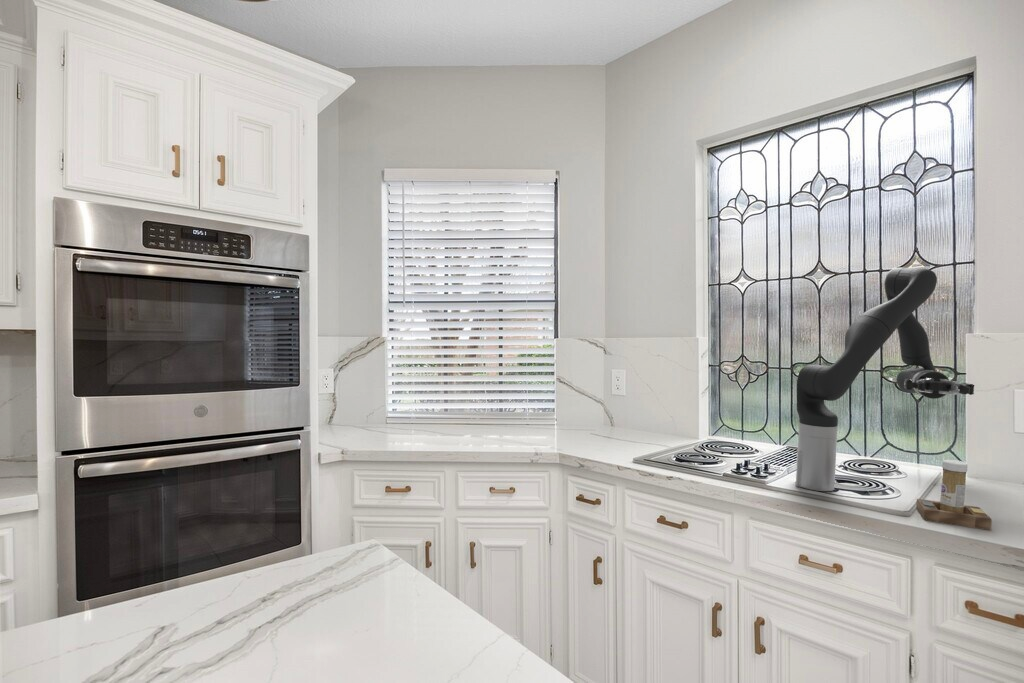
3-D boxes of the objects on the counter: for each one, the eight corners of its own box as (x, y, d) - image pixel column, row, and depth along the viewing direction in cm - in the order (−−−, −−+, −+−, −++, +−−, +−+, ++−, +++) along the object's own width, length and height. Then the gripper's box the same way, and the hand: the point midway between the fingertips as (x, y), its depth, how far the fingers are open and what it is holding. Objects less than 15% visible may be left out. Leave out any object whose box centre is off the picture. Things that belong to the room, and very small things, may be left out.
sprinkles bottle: (933, 515, 131) (937, 458, 131) (951, 515, 132) (955, 458, 131) (950, 522, 127) (954, 463, 126) (969, 522, 127) (973, 464, 127)
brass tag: (973, 513, 126) (973, 511, 126) (969, 509, 129) (969, 507, 129) (985, 514, 125) (985, 513, 125) (980, 510, 128) (980, 509, 128)
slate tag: (924, 505, 130) (924, 504, 130) (921, 502, 133) (921, 500, 133) (934, 507, 129) (934, 506, 129) (931, 503, 132) (931, 502, 132)
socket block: (923, 519, 128) (924, 509, 128) (916, 508, 136) (916, 498, 136) (990, 530, 122) (991, 518, 122) (978, 517, 130) (979, 507, 130)
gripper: (900, 368, 158) (911, 371, 144) (963, 372, 152) (981, 376, 137) (898, 394, 158) (909, 400, 144) (960, 399, 152) (978, 406, 137)
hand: (944, 388), depth 141 cm, fingers open, 8 cm apart
